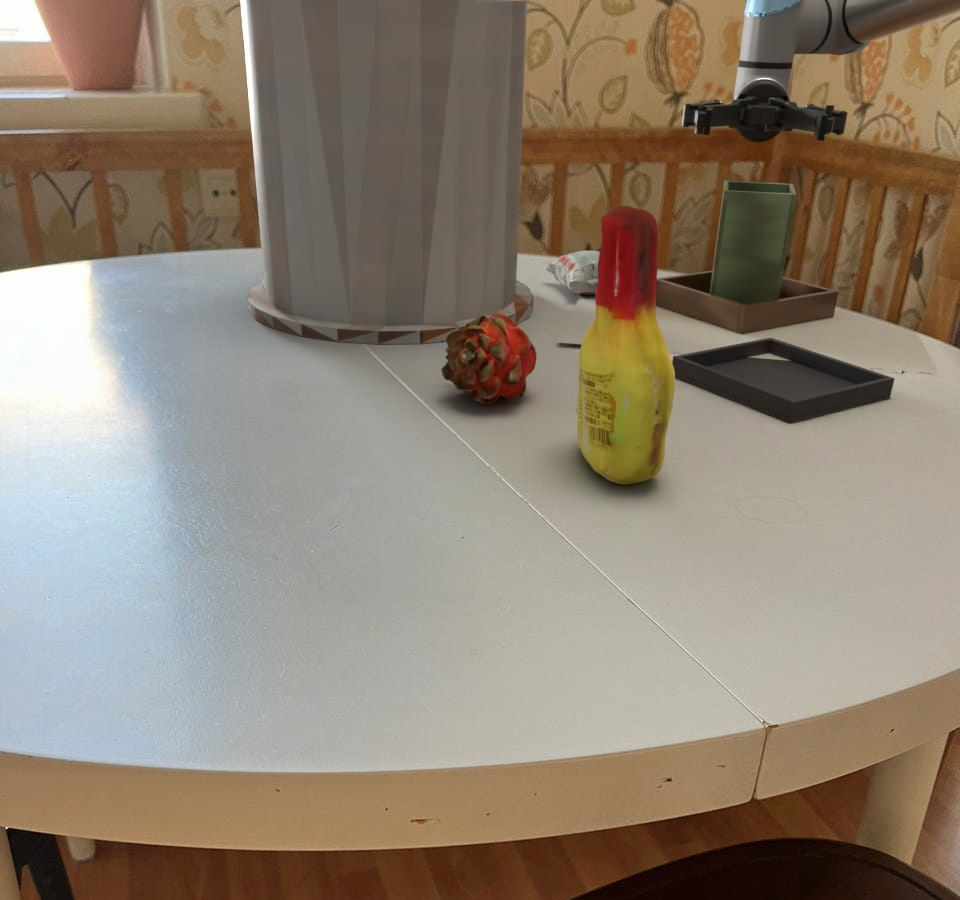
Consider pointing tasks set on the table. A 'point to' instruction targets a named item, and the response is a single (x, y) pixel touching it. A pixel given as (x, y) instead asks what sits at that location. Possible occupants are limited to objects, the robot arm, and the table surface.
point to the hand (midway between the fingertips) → (764, 125)
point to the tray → (782, 379)
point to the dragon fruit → (489, 359)
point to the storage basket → (386, 165)
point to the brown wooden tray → (696, 302)
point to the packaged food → (577, 271)
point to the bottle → (625, 356)
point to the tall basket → (752, 241)
